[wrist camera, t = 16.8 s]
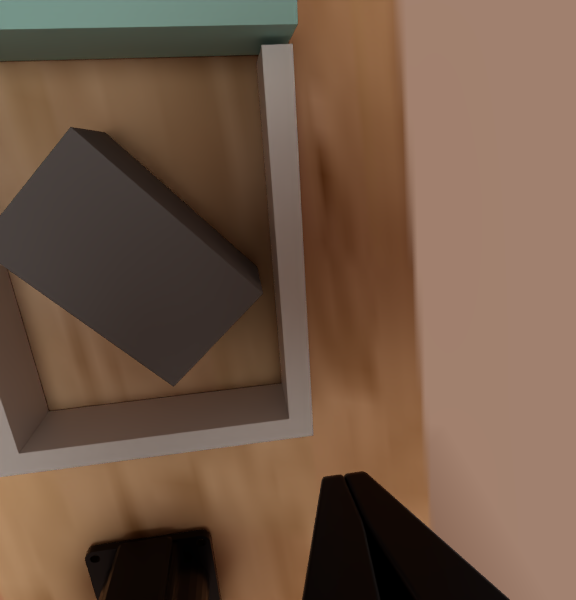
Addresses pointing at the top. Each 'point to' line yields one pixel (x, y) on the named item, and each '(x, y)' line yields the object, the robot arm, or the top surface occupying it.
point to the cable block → (125, 255)
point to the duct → (194, 407)
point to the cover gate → (141, 28)
